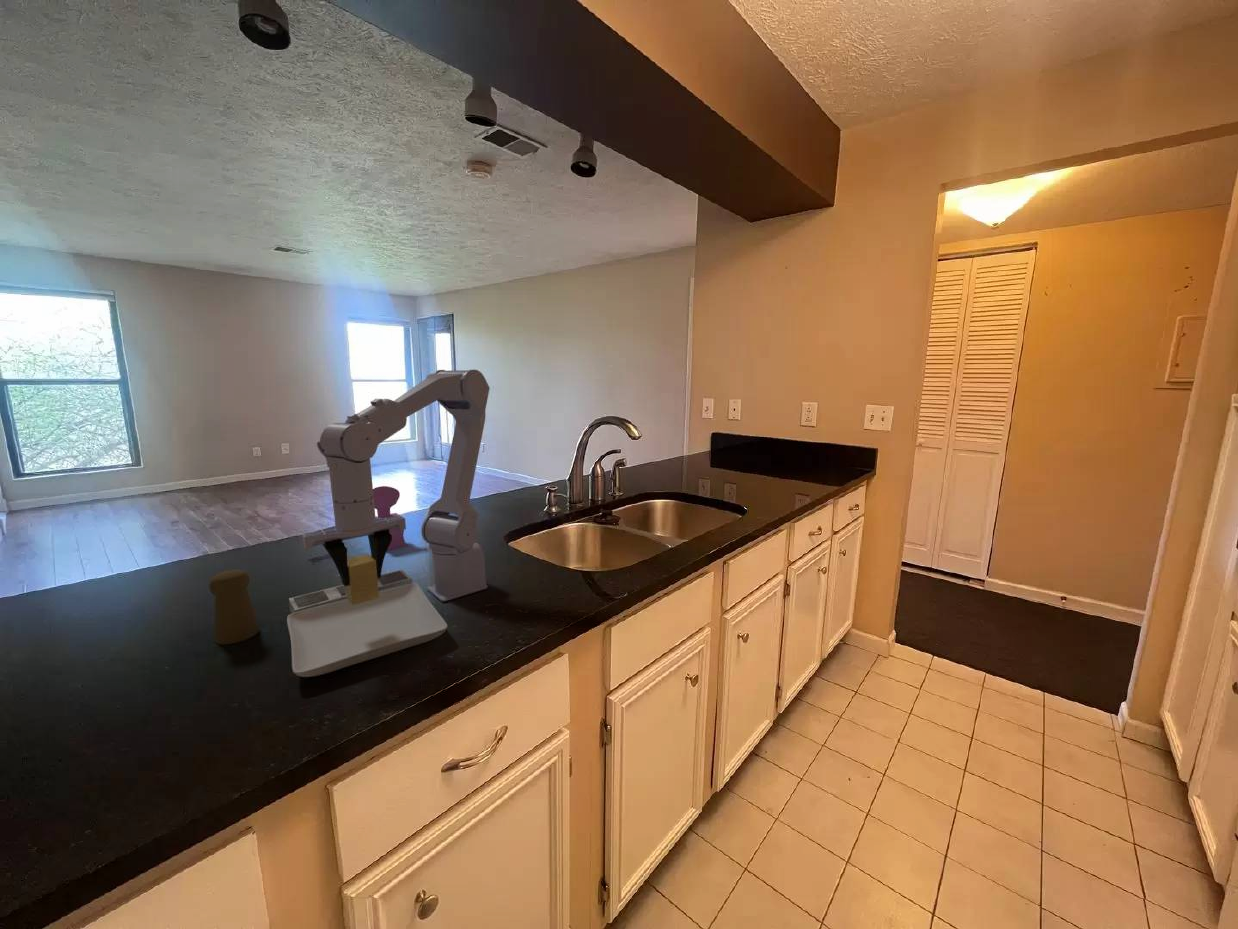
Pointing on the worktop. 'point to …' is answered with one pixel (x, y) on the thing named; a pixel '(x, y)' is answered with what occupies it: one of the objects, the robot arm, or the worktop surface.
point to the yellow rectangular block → (362, 579)
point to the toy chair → (388, 512)
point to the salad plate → (361, 630)
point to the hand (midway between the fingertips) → (361, 579)
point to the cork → (233, 607)
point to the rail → (339, 592)
